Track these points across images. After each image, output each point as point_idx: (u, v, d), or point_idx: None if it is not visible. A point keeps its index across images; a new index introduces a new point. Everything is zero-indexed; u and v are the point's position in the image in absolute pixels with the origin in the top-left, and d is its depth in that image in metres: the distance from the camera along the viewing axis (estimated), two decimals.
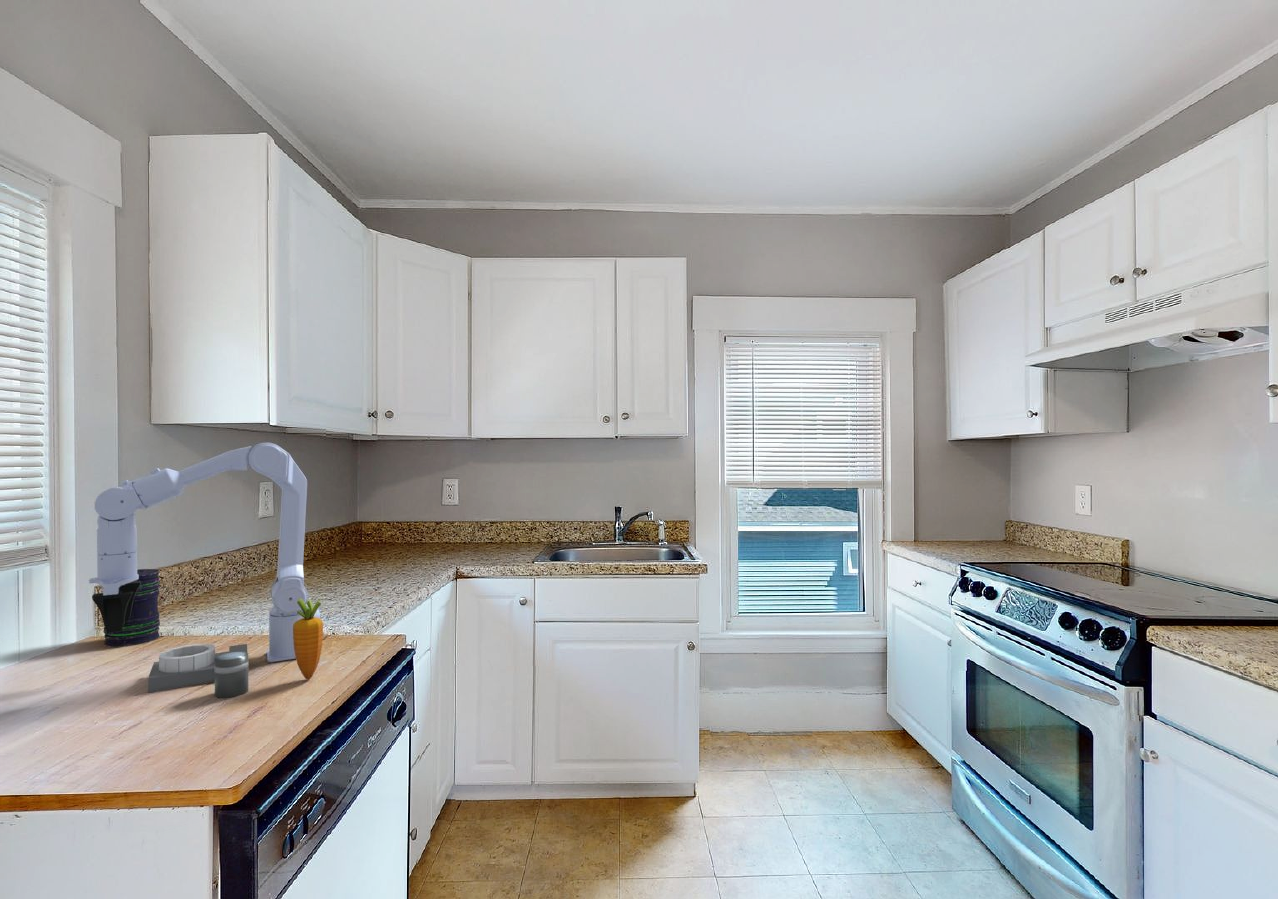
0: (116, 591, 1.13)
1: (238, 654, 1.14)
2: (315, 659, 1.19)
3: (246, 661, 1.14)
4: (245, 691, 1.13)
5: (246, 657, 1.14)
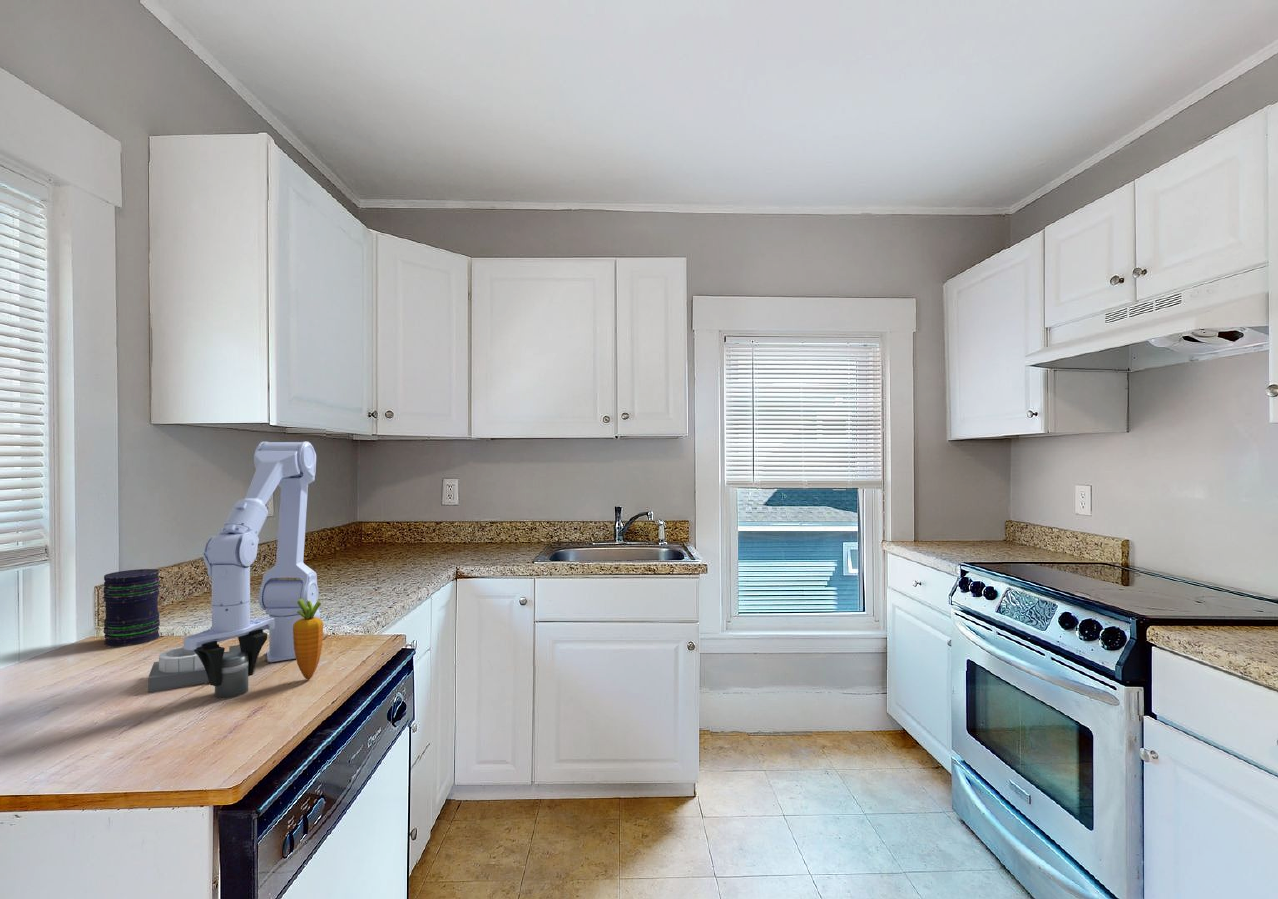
0: (189, 647, 1.07)
1: (238, 654, 1.14)
2: (315, 659, 1.19)
3: (246, 661, 1.14)
4: (245, 691, 1.13)
5: (246, 657, 1.14)
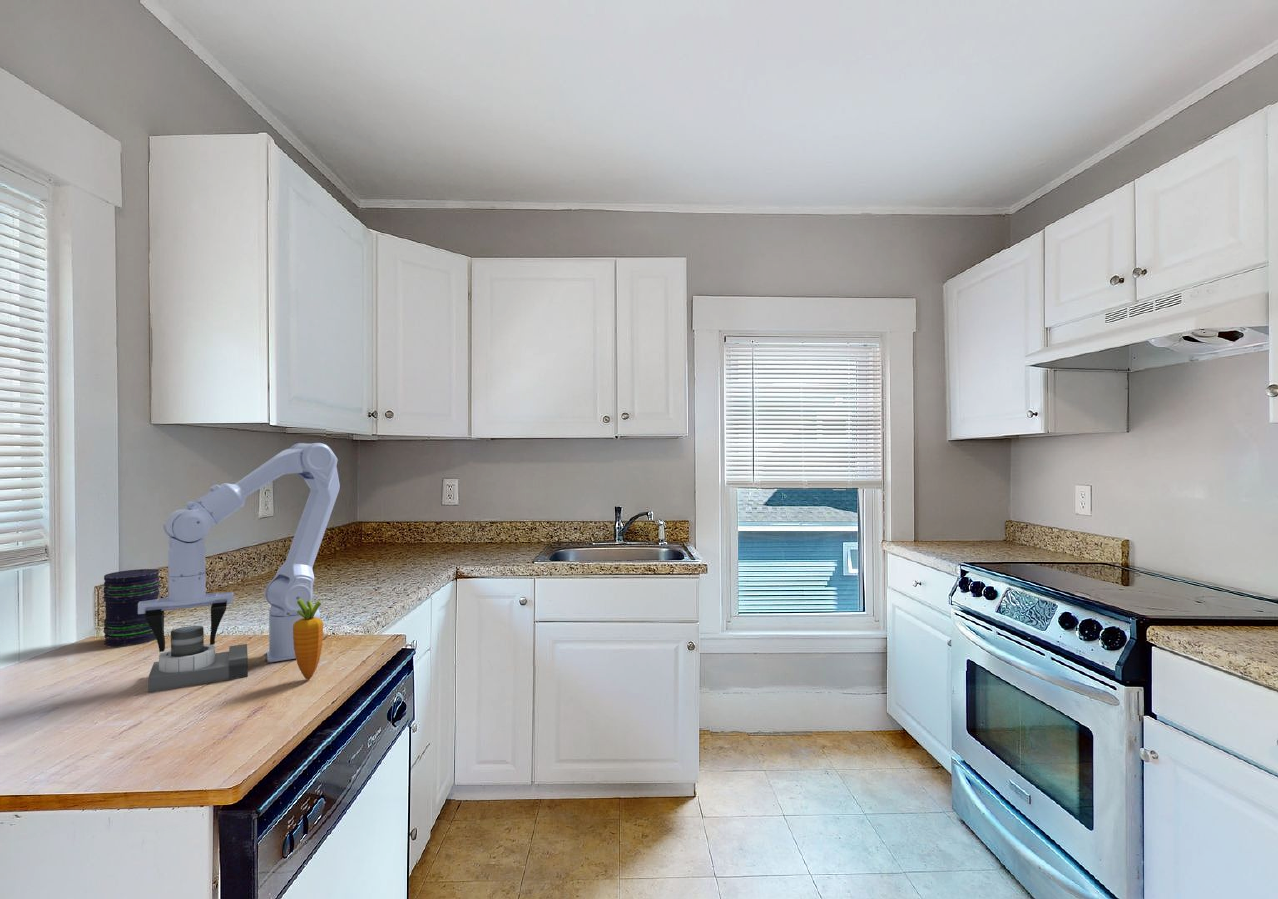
0: None
1: (194, 628, 1.21)
2: (315, 659, 1.19)
3: (196, 636, 1.20)
4: None
5: (196, 632, 1.20)
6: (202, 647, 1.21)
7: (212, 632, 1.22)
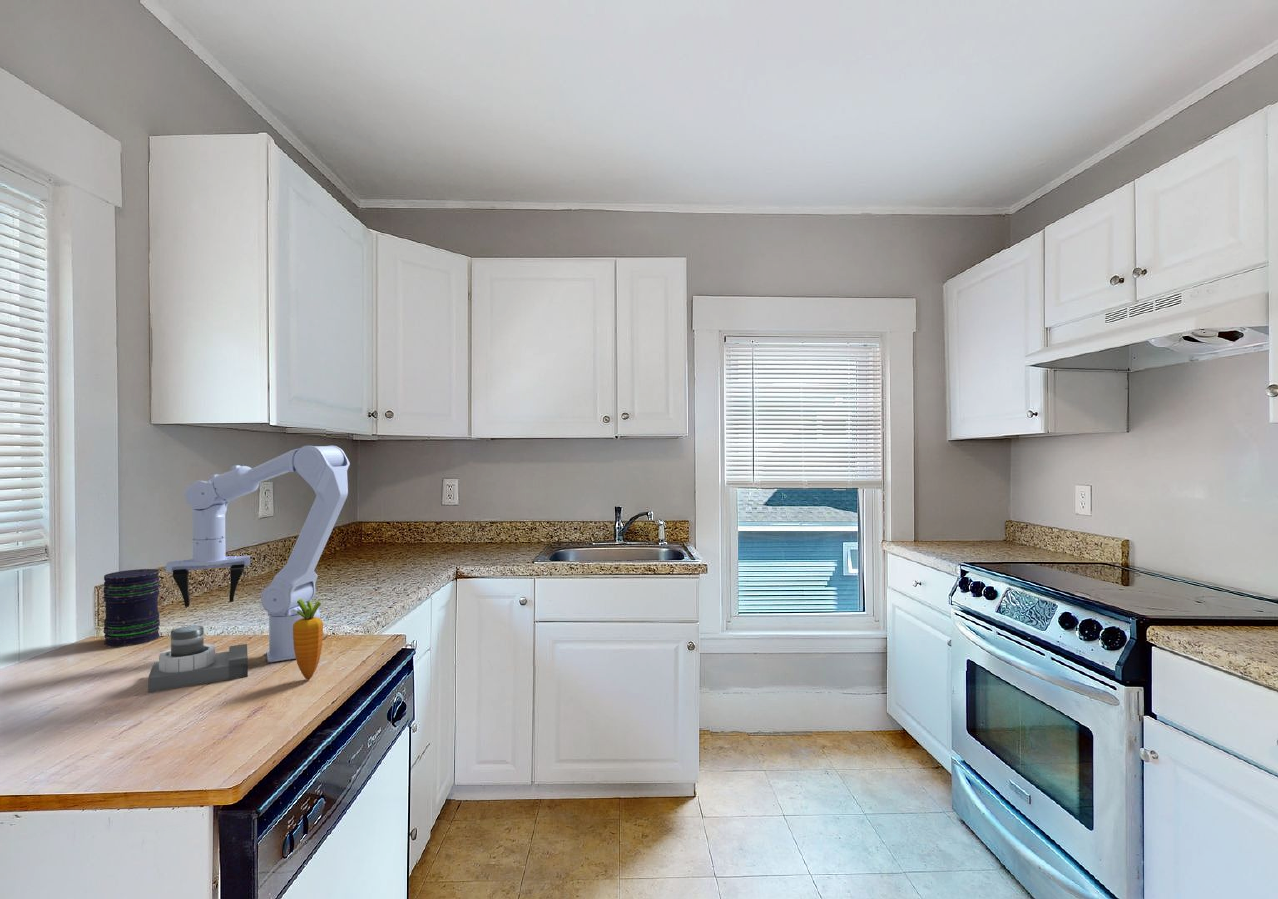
0: None
1: (194, 629, 1.21)
2: (315, 659, 1.19)
3: (196, 636, 1.20)
4: None
5: (196, 632, 1.20)
6: (202, 647, 1.21)
7: (231, 590, 1.36)
